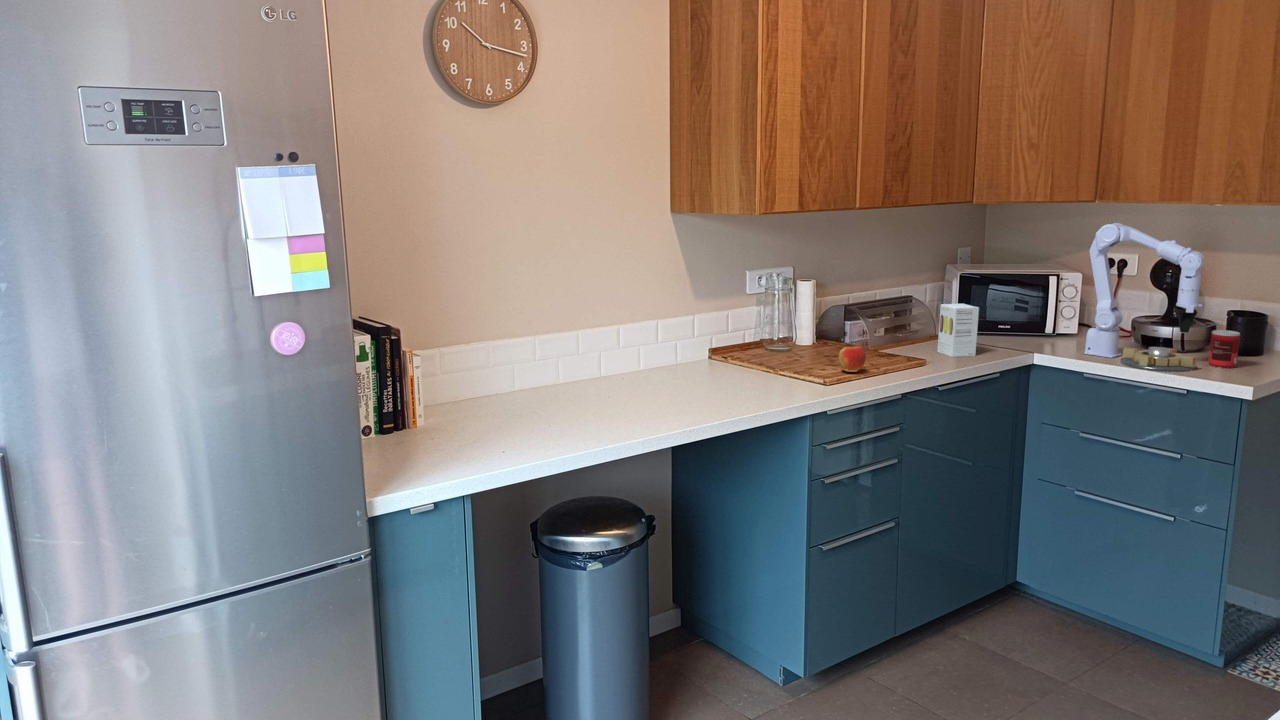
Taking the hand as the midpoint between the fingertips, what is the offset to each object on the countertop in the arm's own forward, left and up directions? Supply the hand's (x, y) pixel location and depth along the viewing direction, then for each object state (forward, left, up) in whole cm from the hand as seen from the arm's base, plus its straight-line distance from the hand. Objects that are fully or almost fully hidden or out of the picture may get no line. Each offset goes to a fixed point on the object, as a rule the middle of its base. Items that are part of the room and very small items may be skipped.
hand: (1184, 332), depth 291 cm
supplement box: (-56, -39, -11) cm, 69 cm away
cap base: (-4, -7, -10) cm, 13 cm away
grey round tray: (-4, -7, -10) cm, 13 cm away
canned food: (+10, +7, -11) cm, 16 cm away
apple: (-61, -90, -11) cm, 110 cm away
